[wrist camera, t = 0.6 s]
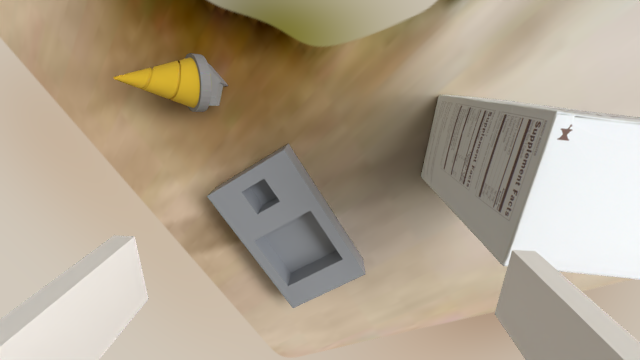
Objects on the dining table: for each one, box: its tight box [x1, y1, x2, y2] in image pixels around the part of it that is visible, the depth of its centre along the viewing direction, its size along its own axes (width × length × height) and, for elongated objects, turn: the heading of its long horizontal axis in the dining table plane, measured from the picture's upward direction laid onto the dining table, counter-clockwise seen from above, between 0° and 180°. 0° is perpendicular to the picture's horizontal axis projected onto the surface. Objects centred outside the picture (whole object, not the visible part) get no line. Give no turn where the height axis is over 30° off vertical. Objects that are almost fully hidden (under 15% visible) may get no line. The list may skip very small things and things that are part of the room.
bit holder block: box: [207, 144, 365, 308], centre depth 34 cm, size 17×10×3 cm, turn 31°
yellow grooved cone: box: [114, 53, 228, 112], centre depth 28 cm, size 5×5×10 cm
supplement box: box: [421, 95, 640, 280], centre depth 24 cm, size 10×9×17 cm
